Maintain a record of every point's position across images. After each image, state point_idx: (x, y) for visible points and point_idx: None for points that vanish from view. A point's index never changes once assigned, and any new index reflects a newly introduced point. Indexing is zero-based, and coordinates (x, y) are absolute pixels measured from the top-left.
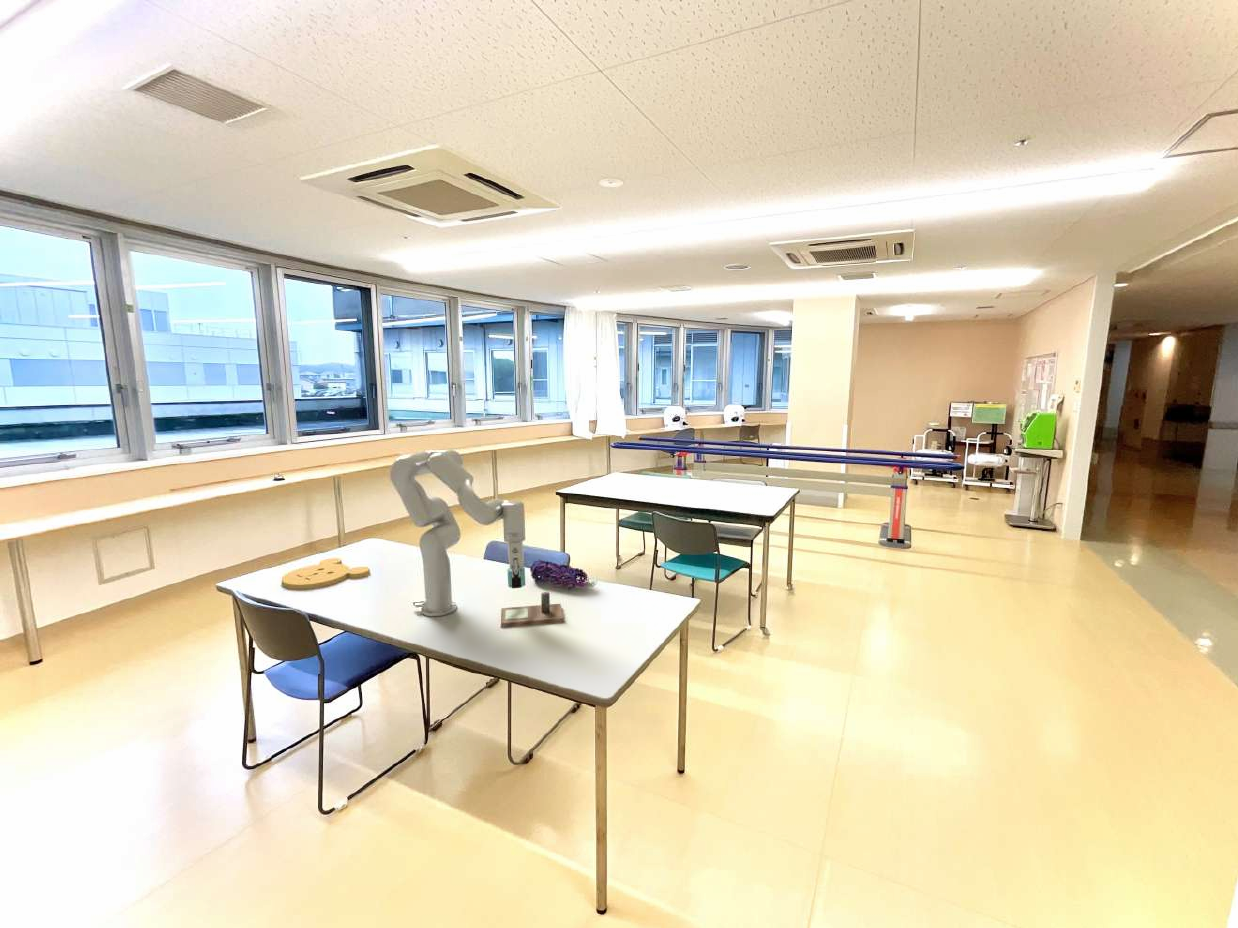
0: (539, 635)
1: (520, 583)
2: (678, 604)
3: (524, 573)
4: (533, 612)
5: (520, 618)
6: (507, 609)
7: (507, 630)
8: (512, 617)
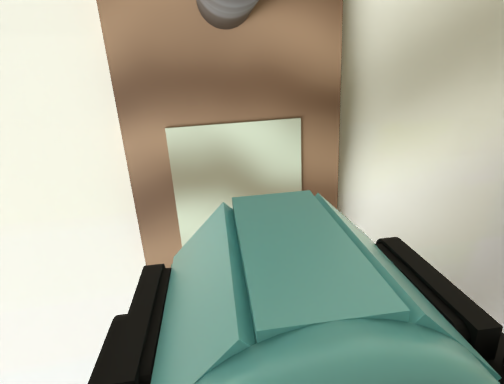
0: (460, 49)
1: (422, 265)
2: None
3: (404, 291)
4: (224, 86)
5: (300, 161)
6: (168, 241)
7: (365, 210)
8: None
